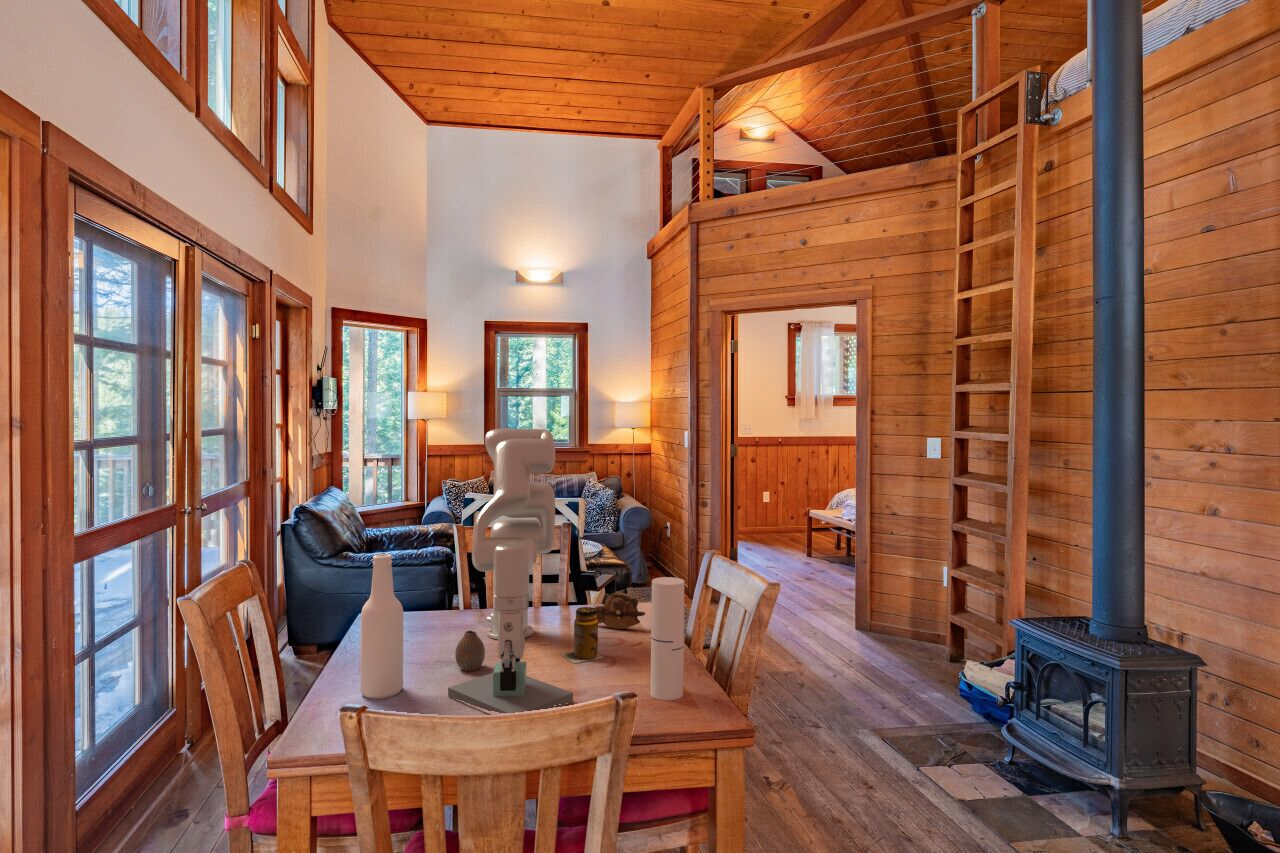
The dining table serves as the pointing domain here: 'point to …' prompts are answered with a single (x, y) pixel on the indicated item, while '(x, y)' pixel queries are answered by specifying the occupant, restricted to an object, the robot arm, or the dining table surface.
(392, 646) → the alcohol
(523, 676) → the seafoam cuboid
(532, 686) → the post base
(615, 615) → the wooden carving
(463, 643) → the vase
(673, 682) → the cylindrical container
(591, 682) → the dining table surface
